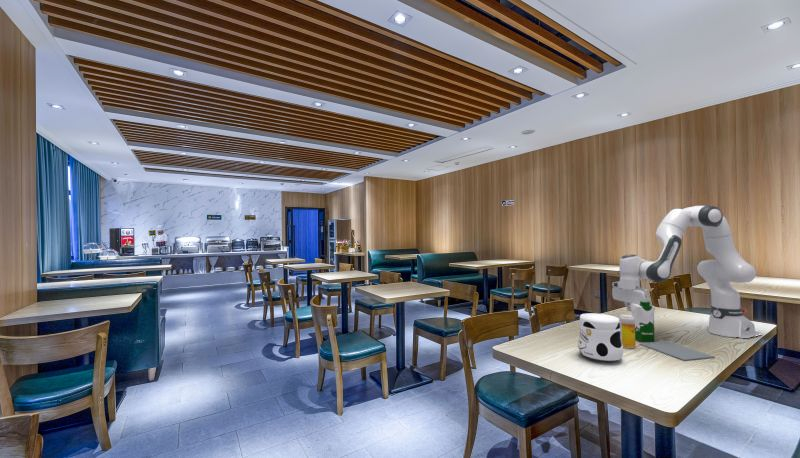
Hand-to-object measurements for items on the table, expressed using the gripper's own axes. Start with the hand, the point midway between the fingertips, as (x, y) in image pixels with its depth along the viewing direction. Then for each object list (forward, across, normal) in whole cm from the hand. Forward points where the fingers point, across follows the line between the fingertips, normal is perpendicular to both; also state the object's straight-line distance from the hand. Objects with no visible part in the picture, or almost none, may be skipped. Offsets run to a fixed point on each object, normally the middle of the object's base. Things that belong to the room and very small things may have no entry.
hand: (630, 311), depth 181 cm
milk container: (+13, -24, +39) cm, 47 cm away
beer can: (+13, -14, +16) cm, 25 cm away
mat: (+13, -24, 0) cm, 27 cm away
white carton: (+13, -7, 0) cm, 15 cm away
